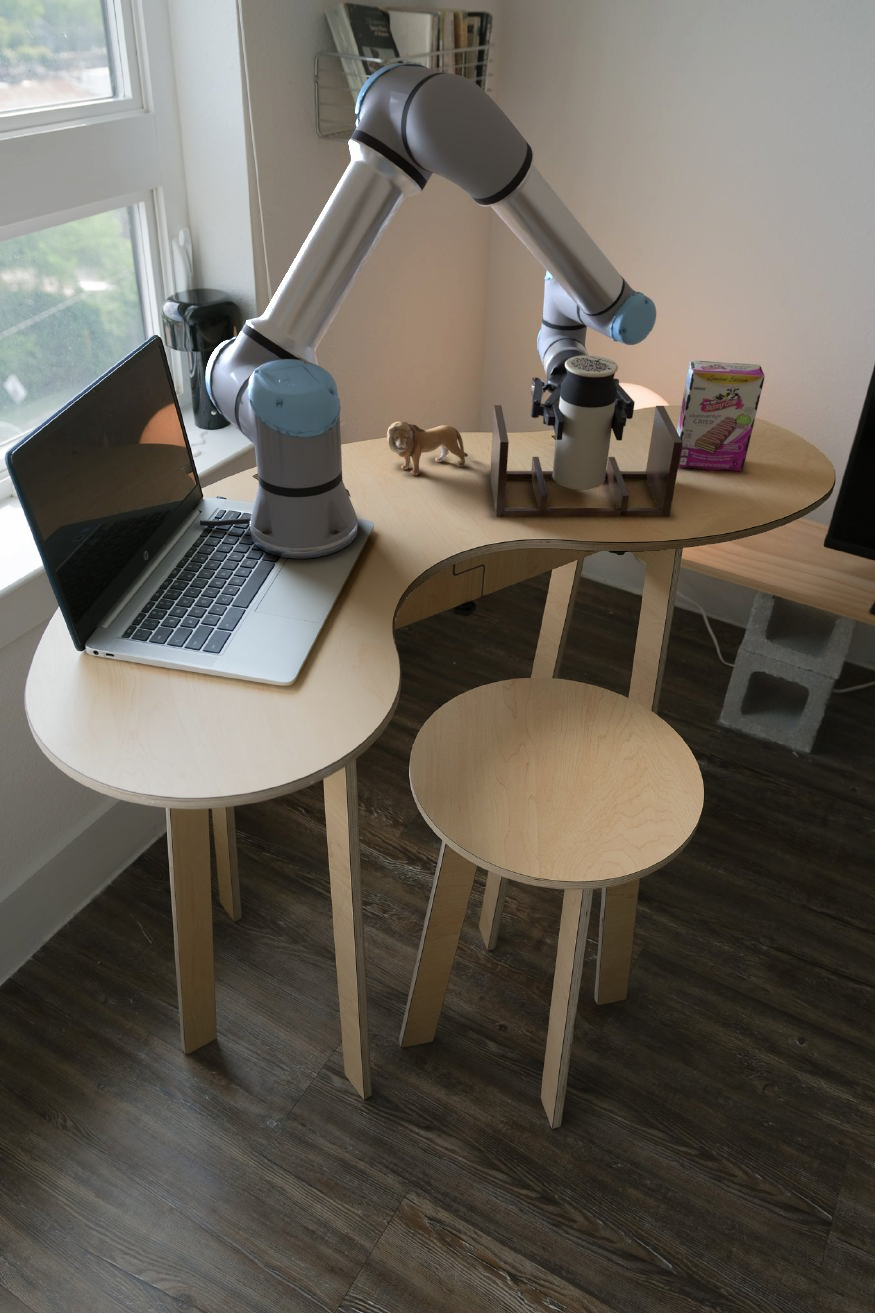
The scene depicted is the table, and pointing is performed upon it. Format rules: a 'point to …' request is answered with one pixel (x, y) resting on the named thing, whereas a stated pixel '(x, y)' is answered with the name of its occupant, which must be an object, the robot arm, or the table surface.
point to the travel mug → (585, 422)
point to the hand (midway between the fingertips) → (590, 431)
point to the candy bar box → (718, 414)
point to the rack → (657, 475)
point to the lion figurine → (424, 443)
